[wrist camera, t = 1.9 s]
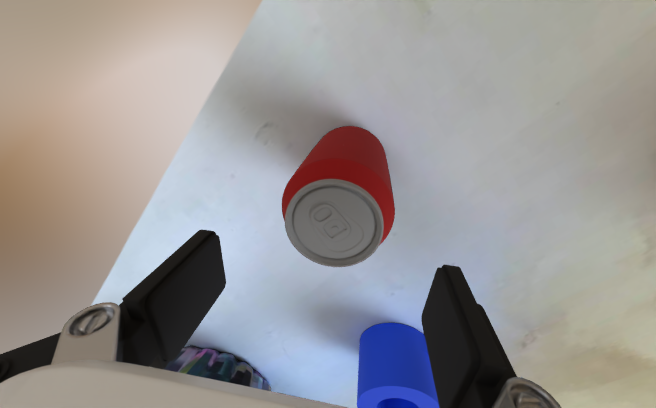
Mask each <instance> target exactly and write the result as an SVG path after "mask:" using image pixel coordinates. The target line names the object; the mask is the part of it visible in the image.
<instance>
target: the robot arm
mask: <svg viewBox="0 0 656 408" xmlns="http://www.w3.org/2000/svg"><path fill="white" fill-rule="evenodd" d="M225 284H226V279H225V272H224V266H223V259H222V253H221V246H220V239H219V236H218V235H216V233H215V232H214V231H208V230H199V231H198V232H197V233H196V234H195V235H193V236H192V237H191V238H190V239H189V240H188V241H187V242H186V243H184V244H183V245H182V246H181V247H180V248H179V249H178V250H177V251H175V252H174V253H173V254H172V255H171V256H170V257H169V258H168V259H166V260H165V261H164V262H163V263H162V264H161V265H160V266H159V267H157V268H156V269H155V270H154V271H153V272H152V273H151V274H150V275H148V276H147V277H146V278H145V279H144V280H143V281H142V282H141V283H139V284H138V285H137V286H136V287H135V288H134V289H133V290H132V291H131V292H129V293H128V294H127V295H126V296H125V297H124V298H123V302H122V303H121V304H120V305H119V306H118V305H117V304H115V303H100V304H95V305H93V306H90V307H87V308H85V309H84V310H82V311H80V312H78V313H77V314H75V315H74V316H73V317H71V318H70V319H69V320H68V322H67V323H66V324H65V325H64V327H63V329H62V332H61V333H58V334H55V335H53V336H50V337H47V338H44V339H42V340H39V341H36V342H33V343H31V344H28V345H25V346H23V347H20V348H17V349H14V350H12V351H9V352H6V353H3V354H0V408H347V407H343V406H338V405H333V404H329V403H324V402H319V401H314V400H310V399H305V398H300V397H295V396H291V395H286V394H281V393H276V392H271V391H267V390H262V389H257V388H252V387H247V386H243V385H238V384H233V383H228V382H223V381H218V380H213V379H208V378H203V377H198V376H193V375H188V374H183V373H179V372H174V371H169V370H164V369H165V367H166V366H167V365H168V363H169V362H170V361H173V360H174V359H175V358H176V357H177V356H178V354H179V353H180V351H181V350H182V349H183V347H184V346H185V344H186V343H187V341H188V340H189V339H190V337H191V336H192V334H193V333H194V331H195V330H196V328H197V327H198V326H199V324H200V323H201V321H202V320H203V318H204V317H205V315H206V314H207V313H208V311H209V310H210V308H211V307H212V305H213V304H214V303H215V301H216V300H217V298H218V297H219V295H220V294H221V292H222V291H223V290H224V288H225ZM422 326H423V331H424V336H425V340H426V345H427V350H428V355H429V360H430V364H431V369H432V374H433V379H434V384H435V389H436V393H437V398H438V403H439V408H561V406H560V405H559V403H558V402H557V401H556V400H555V399H554V398H553V397H552V396H551V395H550V394H549V393H548V392H547V391H546V390H544V389H543V388H542V387H540V386H539V385H537V384H535V383H534V382H532V381H530V380H527V379H524V378H518V377H517V376H516V374H515V372H514V370H513V368H512V366H511V364H510V362H509V360H508V358H507V356H506V354H505V351H504V349H503V347H502V345H501V343H500V341H499V339H498V337H497V335H496V333H495V331H494V329H493V327H492V325H491V323H490V321H489V319H488V317H487V315H486V312H485V310H484V309H483V307H482V306H481V305H480V304H477V303H476V301H475V298H474V296H473V294H472V292H471V290H470V288H469V286H468V283H467V281H466V279H465V277H464V275H463V273H462V271H461V269H460V267H457V266H450V265H443V266H442V268H437V270H436V273H435V276H434V279H433V282H432V285H431V288H430V292H429V295H428V298H427V301H426V304H425V307H424V310H423V313H422ZM149 366H150V367H149ZM152 367H153V368H152Z"/></svg>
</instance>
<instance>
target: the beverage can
mask: <svg viewBox="0 0 656 408" xmlns="http://www.w3.org/2000/svg"><path fill="white" fill-rule="evenodd" d="M282 213H283V218H284V221H285V228H286V232H287V235H288V237H289V239H290V241H291V243H292V244H293V246H294V247H295V248H296V249H297V250H298V251H299V252H300V253H301V254H302V255H303V256H305V257H306V258H308V259H310V260H311V261H313V262H316V263H318V264H321V265H325V266H331V267H346V266H351V265H355V264H357V263H360V262H362V261H364V260H365V259H367V258H368V257H370V256H371V255H372V254H373V253H374V252H375V250H376V249H377V248H378V246H379V245H380V244H381V243H382V242H383V241H384V240H385V238H386V237H387V235H388V234H389V232H390V230H391V228H392V225H393V222H394V215H395V207H394V200H393V193H392V186H391V180H390V175H389V169H388V164H387V160H386V155H385V151H384V149H383V146H382V144H381V143H380V141H379V140H378V139H377V138H376V137H375V136H374V135H373V134H372V133H370V132H369V131H367V130H365V129H362V128H359V127H354V126H345V127H340V128H336V129H334V130H332V131H330V132H329V133H327V134H326V135H325V136H324V137H323V138H322V139H321V140H320V141H319V142H318V144H317V145H316V146H315V147H314V148H313V150H312V151H311V152H310V154H309V155H308V156H307V157H306V159H305V160H304V161H303V163H302V164H301V165H300V167H299V168H298V169H297V171H296V172H295V173H294V175H293V176H292V178H291V179H290V180H289V182H288V184H287V186H286V188H285V190H284V193H283V198H282Z"/></svg>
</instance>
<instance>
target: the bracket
mask: <svg viewBox="0 0 656 408" xmlns="http://www.w3.org/2000/svg"><path fill="white" fill-rule="evenodd" d="M357 408H439V403H438V398H437V393H436V389H435V384H434V379H433V374H432V369H431V364H430V360H429V355H428V350H427V345H426V340H425V336H424V334H423V333H421V332H419V331H418V330H416V329H414V328H412V327H410V326H407V325H404V324H399V323H382V324H377V325H374V326H372V327H370V328H368V329H367V330H366V331H365V332H364V333H363V334H362V336H361V338H360V347H359V370H358V393H357Z"/></svg>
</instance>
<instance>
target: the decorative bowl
mask: <svg viewBox="0 0 656 408" xmlns="http://www.w3.org/2000/svg"><path fill="white" fill-rule="evenodd" d="M164 370H169V371H174V372H179V373H183V374H188V375H193V376H198V377H203V378H208V379H213V380H218V381H223V382H228V383H233V384H238V385H243V386H247V387H252V388H257V389H262V390H267V391H271V387H270V385H269V383H268V382H267V381H266V380H265V379H263V377H262V376H261V375H260V374H259V373H258V372H257V371H254V370H253V369H252V367H250V366H249V365H248V364H247V363H245V362H243V361H237V359H236V358H235V357H234V356H233V355H232V354H227V353H221V354H220V353H219V352H218V351H216V350H212V349H206V348H205V349H203V350H202V349H199V348H197V347H194V346H191V345H190V346H187V347H184V348H183V349H182V350H181V351H180V353H179V354H178V356H177V357H176V358H175V359H174V360H173V361H170V362H169V363H168V365H167V366H166V367H165V369H164Z"/></svg>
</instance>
